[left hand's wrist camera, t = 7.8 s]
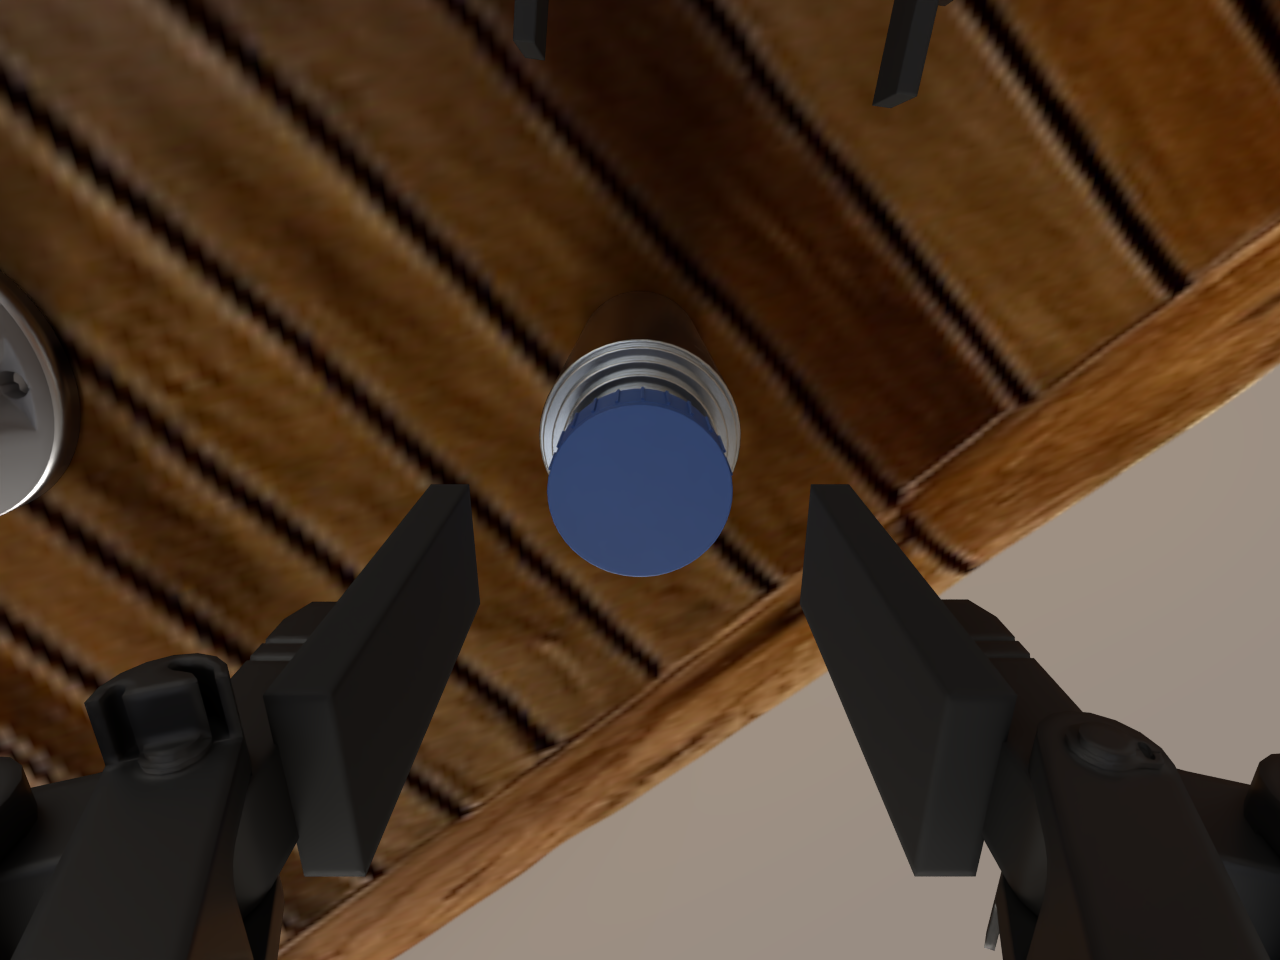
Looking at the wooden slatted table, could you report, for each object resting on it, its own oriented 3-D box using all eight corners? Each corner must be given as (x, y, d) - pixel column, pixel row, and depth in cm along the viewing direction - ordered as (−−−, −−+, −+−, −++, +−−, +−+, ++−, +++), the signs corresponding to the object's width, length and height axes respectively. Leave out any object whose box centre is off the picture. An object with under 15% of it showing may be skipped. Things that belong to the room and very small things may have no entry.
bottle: (645, 264, 34) (652, 311, 16) (724, 358, 35) (813, 499, 17) (554, 347, 35) (464, 478, 17) (634, 434, 37) (629, 638, 19)
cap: (648, 348, 17) (649, 360, 16) (762, 478, 18) (773, 502, 17) (517, 463, 18) (505, 486, 17) (632, 579, 20) (632, 611, 18)
